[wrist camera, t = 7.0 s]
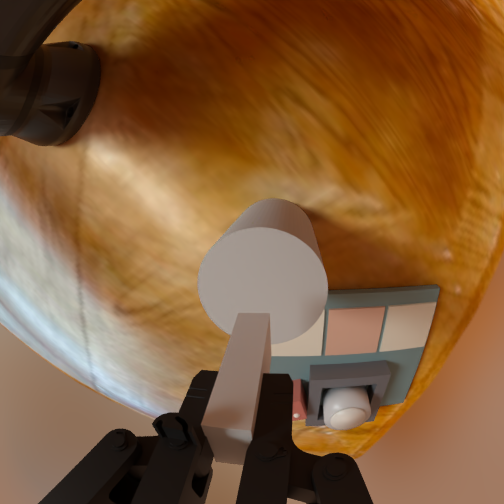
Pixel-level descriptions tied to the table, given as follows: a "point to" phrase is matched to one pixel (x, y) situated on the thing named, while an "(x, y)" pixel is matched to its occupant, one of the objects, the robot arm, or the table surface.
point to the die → (299, 401)
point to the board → (360, 345)
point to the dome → (346, 407)
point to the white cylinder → (266, 271)
